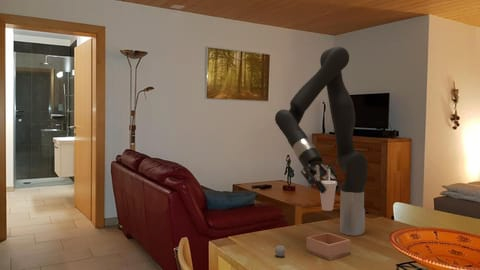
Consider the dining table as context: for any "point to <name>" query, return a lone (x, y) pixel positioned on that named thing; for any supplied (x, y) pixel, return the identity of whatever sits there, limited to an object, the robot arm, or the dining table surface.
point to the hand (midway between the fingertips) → (331, 190)
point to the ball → (279, 250)
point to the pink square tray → (328, 246)
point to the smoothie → (328, 194)
